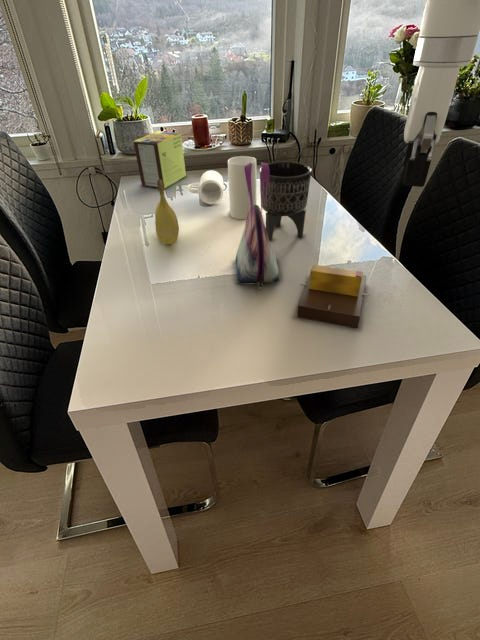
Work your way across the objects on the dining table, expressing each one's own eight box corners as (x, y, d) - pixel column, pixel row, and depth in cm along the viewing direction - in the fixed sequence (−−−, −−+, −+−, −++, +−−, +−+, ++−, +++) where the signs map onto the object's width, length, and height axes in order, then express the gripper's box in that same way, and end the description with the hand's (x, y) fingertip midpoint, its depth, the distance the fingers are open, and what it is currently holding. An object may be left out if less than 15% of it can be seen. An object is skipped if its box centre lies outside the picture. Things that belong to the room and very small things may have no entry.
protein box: (186, 175, 146) (181, 132, 136) (164, 189, 135) (157, 143, 125) (164, 173, 149) (157, 130, 140) (140, 185, 139) (132, 140, 129)
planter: (309, 226, 108) (315, 163, 97) (299, 247, 99) (305, 179, 87) (266, 221, 112) (268, 159, 100) (253, 241, 102) (252, 174, 91)
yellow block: (309, 288, 78) (311, 269, 75) (311, 282, 80) (313, 263, 77) (358, 296, 76) (362, 277, 73) (359, 290, 77) (363, 270, 74)
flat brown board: (306, 277, 87) (307, 266, 85) (369, 287, 83) (372, 275, 81) (291, 316, 76) (292, 303, 74) (363, 329, 72) (366, 317, 70)
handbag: (284, 295, 82) (290, 181, 66) (238, 298, 82) (234, 183, 66) (272, 248, 98) (274, 147, 83) (234, 250, 98) (229, 149, 82)
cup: (225, 216, 115) (222, 162, 105) (237, 206, 121) (236, 154, 111) (249, 221, 112) (248, 166, 102) (260, 211, 118) (261, 157, 107)
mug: (224, 193, 130) (222, 169, 125) (224, 204, 123) (222, 179, 118) (189, 194, 130) (187, 171, 125) (187, 205, 123) (184, 181, 118)
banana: (154, 225, 112) (141, 155, 99) (174, 222, 113) (163, 153, 100) (162, 262, 95) (147, 183, 82) (184, 259, 96) (173, 180, 83)
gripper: (414, 48, 60) (390, 159, 71) (416, 58, 47) (387, 192, 58) (465, 47, 58) (433, 162, 69) (482, 57, 45) (440, 196, 56)
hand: (412, 175), depth 64 cm, fingers open, 9 cm apart
